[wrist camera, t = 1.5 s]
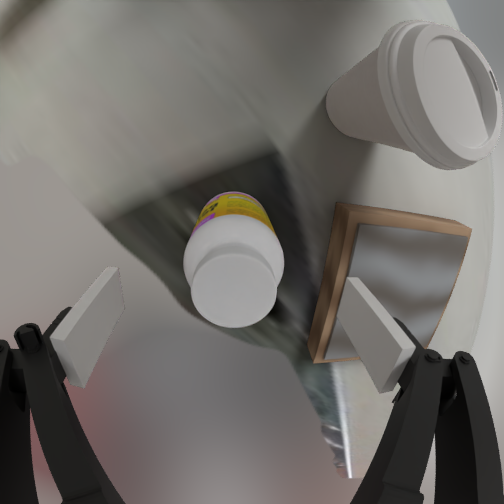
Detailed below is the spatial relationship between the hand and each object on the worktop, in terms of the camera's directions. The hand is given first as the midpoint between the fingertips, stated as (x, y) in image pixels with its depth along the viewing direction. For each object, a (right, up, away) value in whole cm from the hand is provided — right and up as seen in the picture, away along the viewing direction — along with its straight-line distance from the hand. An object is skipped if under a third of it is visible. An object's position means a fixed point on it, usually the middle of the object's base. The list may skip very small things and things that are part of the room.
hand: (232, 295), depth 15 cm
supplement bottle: (-1, +5, +12) cm, 13 cm away
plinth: (+18, -1, +15) cm, 23 cm away
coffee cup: (+11, +17, +8) cm, 21 cm away
